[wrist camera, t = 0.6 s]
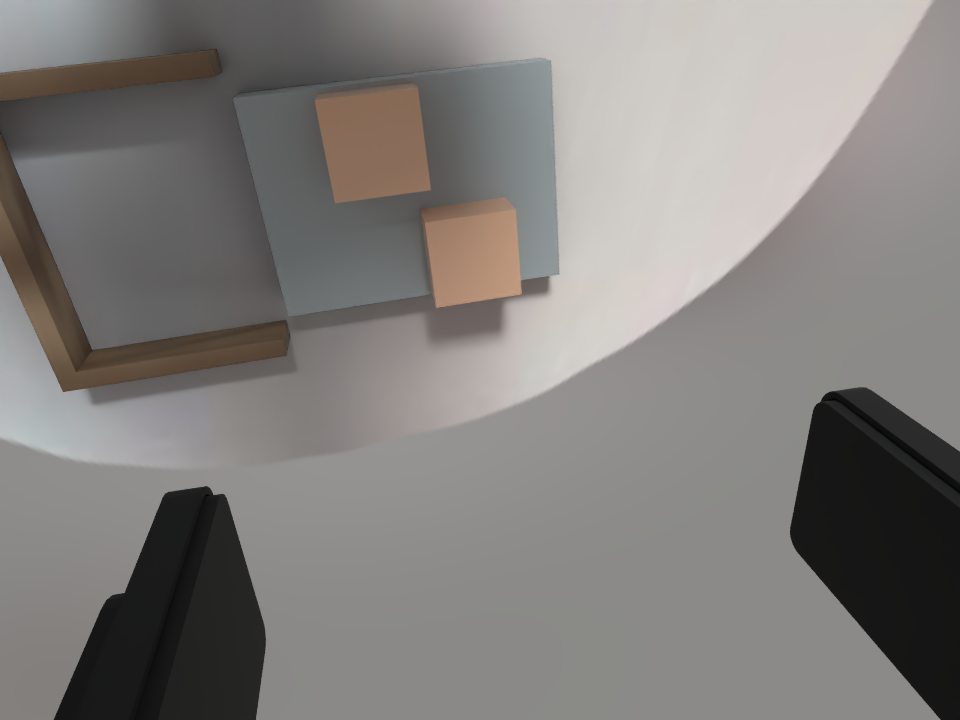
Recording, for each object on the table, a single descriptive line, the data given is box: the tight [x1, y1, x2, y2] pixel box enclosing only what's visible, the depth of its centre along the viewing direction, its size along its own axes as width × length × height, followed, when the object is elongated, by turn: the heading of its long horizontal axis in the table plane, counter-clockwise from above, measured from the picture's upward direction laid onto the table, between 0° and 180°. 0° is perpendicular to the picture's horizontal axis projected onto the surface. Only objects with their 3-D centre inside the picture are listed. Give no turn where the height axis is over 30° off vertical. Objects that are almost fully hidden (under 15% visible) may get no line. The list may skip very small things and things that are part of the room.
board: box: [233, 58, 559, 317], centre depth 35 cm, size 11×15×2 cm
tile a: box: [315, 83, 431, 203], centre depth 31 cm, size 4×4×2 cm
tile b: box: [420, 197, 522, 308], centre depth 34 cm, size 4×4×2 cm
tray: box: [0, 49, 290, 392], centre depth 33 cm, size 15×12×2 cm
